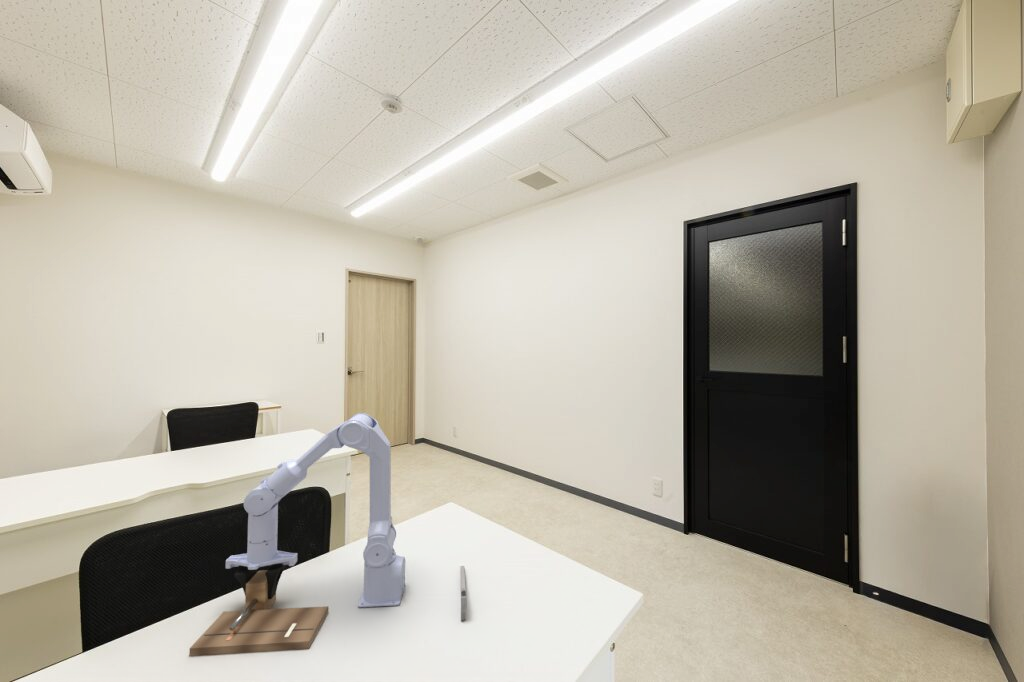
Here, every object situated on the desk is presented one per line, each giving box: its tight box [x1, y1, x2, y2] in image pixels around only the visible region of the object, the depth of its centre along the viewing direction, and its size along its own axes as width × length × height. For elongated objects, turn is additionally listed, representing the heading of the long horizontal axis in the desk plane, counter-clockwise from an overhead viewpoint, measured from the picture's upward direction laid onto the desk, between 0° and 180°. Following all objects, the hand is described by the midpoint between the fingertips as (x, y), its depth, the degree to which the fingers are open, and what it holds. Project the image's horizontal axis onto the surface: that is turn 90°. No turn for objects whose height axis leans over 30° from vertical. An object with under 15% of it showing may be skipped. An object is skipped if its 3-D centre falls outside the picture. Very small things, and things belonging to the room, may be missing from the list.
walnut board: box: [188, 605, 329, 657], centre depth 78 cm, size 22×10×2 cm, turn 96°
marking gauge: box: [230, 569, 277, 634], centre depth 82 cm, size 4×13×7 cm, turn 6°
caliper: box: [460, 565, 467, 622], centre depth 93 cm, size 20×1×6 cm, turn 8°
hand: (261, 596), depth 86 cm, fingers closed on marking gauge, 4 cm apart
